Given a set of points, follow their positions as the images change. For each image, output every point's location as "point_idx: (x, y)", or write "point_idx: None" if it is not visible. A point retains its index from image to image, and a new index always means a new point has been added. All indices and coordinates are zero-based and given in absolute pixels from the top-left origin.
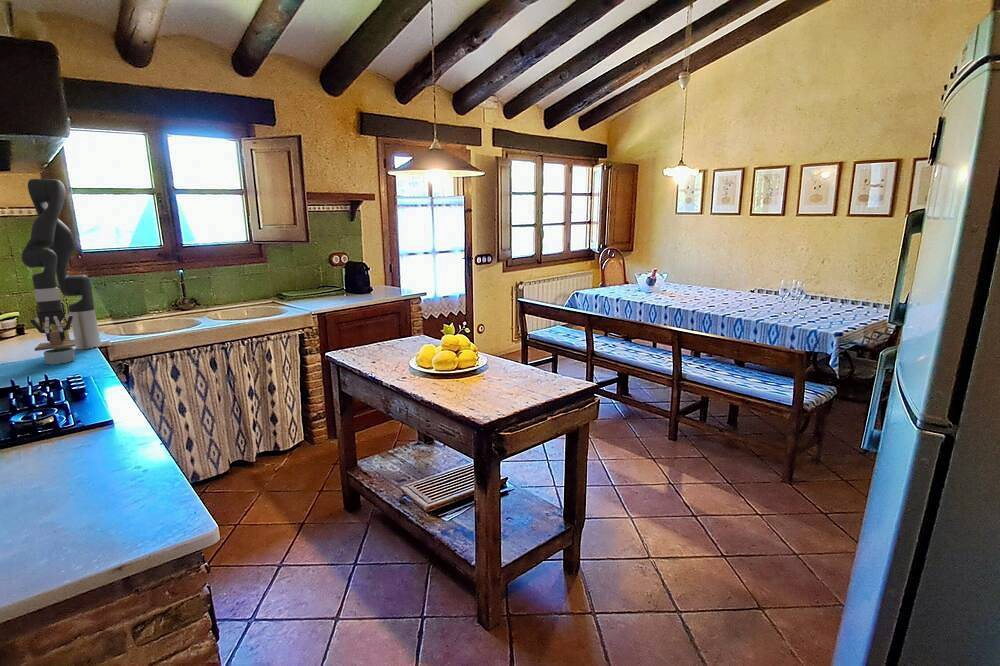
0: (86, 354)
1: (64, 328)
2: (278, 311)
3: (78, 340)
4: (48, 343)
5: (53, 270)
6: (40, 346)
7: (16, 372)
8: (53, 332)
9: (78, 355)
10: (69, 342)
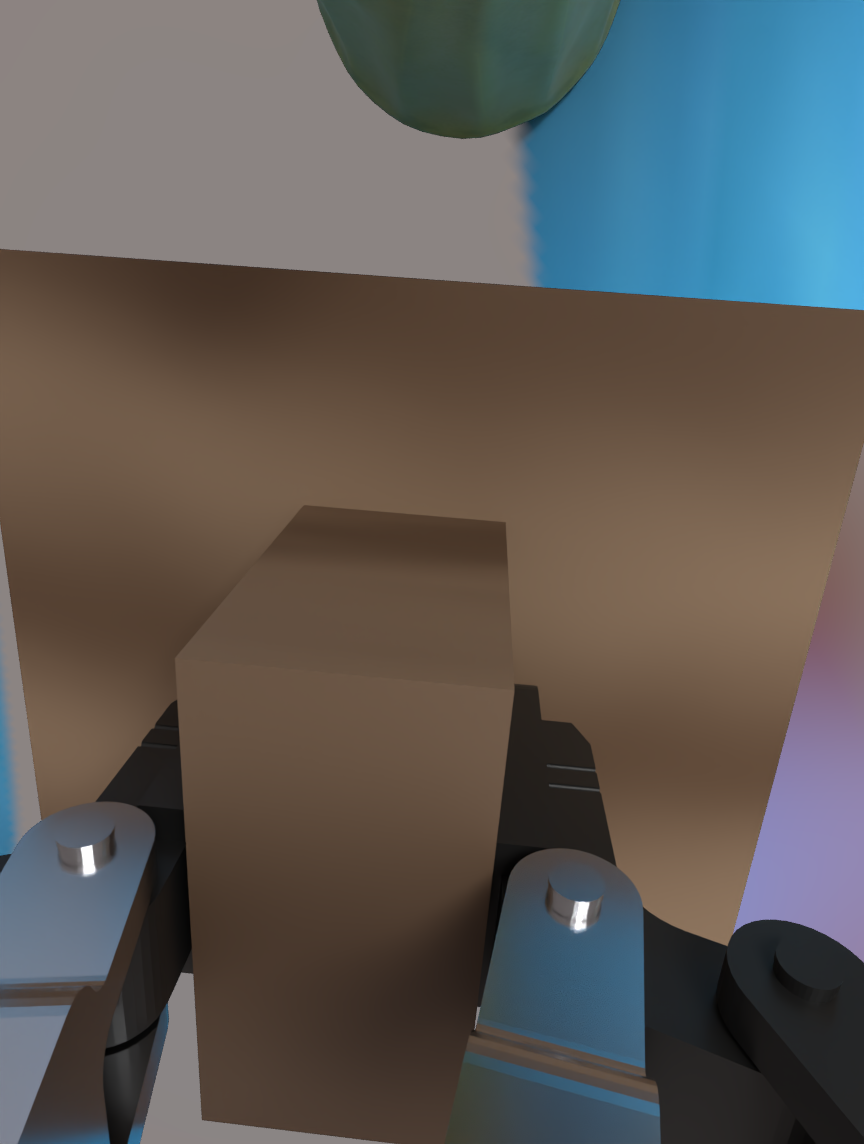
0: (825, 106)
1: (670, 1124)
2: None
3: (860, 402)
4: (185, 460)
5: None
6: (99, 760)
7: (12, 811)
8: (304, 1033)
9: (689, 100)
10: (633, 714)
